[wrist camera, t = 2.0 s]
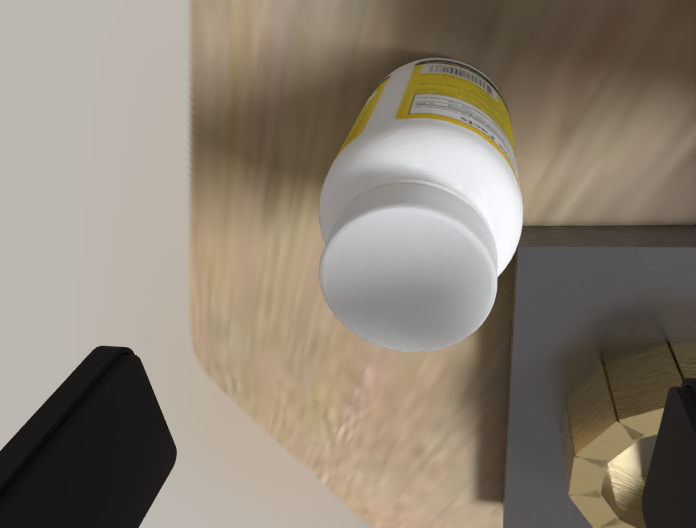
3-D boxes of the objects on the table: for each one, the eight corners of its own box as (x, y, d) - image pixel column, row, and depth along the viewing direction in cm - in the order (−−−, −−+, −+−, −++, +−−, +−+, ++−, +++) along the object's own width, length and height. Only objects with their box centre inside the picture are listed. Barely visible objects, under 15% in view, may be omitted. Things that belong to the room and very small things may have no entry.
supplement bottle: (394, 213, 22) (341, 389, 14) (340, 87, 20) (242, 214, 12) (529, 174, 20) (557, 354, 12) (487, 28, 18) (488, 134, 10)
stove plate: (516, 226, 21) (522, 294, 18) (958, 224, 18) (1079, 307, 14) (502, 503, 31) (504, 584, 27) (789, 536, 28) (835, 633, 24)
